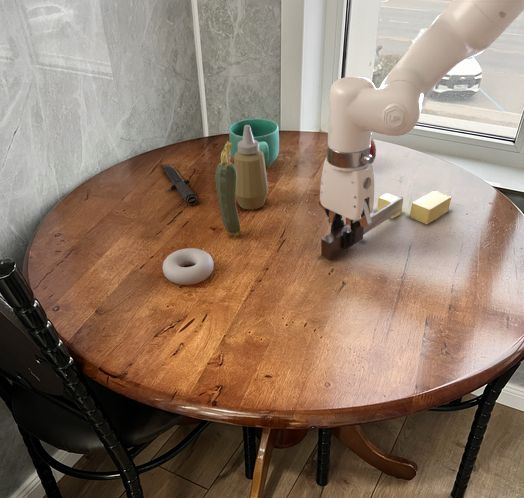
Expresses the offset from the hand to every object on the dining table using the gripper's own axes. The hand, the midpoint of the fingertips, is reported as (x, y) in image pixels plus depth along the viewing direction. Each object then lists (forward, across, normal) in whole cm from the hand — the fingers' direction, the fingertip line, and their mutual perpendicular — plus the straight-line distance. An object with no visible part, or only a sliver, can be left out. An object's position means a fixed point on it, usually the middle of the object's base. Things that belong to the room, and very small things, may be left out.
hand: (342, 242), depth 109 cm
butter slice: (+2, +2, -18) cm, 19 cm away
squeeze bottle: (+2, +28, 0) cm, 28 cm away
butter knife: (+1, 0, -7) cm, 7 cm away
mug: (+2, +42, -14) cm, 44 cm away
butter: (+2, -4, -24) cm, 24 cm away
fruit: (+2, +23, -31) cm, 38 cm away
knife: (+2, +49, +6) cm, 49 cm away
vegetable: (+2, +21, +12) cm, 24 cm away
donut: (+2, +16, +27) cm, 31 cm away
